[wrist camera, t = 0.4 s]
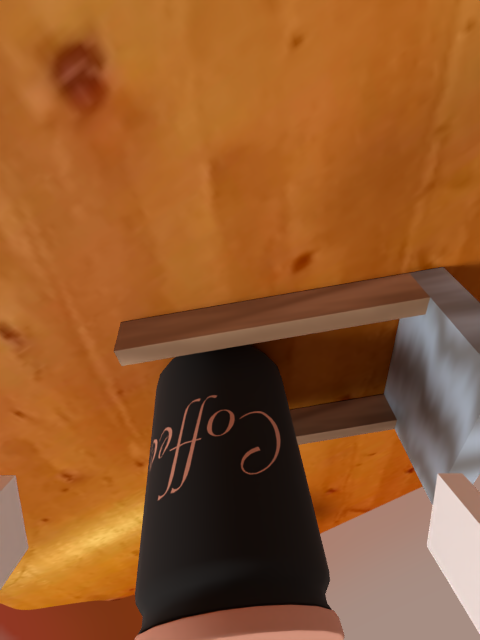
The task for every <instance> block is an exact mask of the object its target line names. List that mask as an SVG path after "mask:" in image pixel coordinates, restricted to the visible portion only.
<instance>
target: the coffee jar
mask: <svg viewBox="0 0 480 640" xmlns="http://www.w3.org/2000/svg"><path fill="white" fill-rule="evenodd" d="M329 582H330V577H329V569H328V565H327V561H326V557H325V553H324V549H323V545H322V541H321V537H320V532H319V528H318V524H317V520H316V516H315V512H314V508H313V504H312V500H311V496H310V492H309V488H308V484H307V479H306V475H305V471H304V467H303V463H302V459H301V455H300V451H299V447H298V443H297V439H296V435H295V431H294V426H293V422H292V418H291V414H290V410H289V406H288V402H287V398H286V394H285V390H284V386H283V382H282V378H281V375H280V373H279V370H278V367H277V366H276V365H275V363H274V362H273V361H272V360H270V359H269V358H268V357H267V356H266V355H265V354H264V353H263V352H261V351H259V350H258V349H256V348H254V347H252V346H250V345H242V346H236V347H230V348H224V349H219V350H213V351H207V352H201V353H195V354H189V355H183V356H177V357H175V358H174V359H172V361H171V362H170V363H169V364H168V365H167V367H166V368H165V369H164V370H163V371H162V373H161V374H160V378H159V381H158V385H157V390H156V399H155V409H154V419H153V428H152V438H151V447H150V457H149V466H148V476H147V486H146V495H145V505H144V514H143V524H142V534H141V543H140V553H139V562H138V572H137V581H136V591H135V600H136V605H137V607H138V609H139V611H140V613H141V614H142V616H143V621H142V628H141V630H140V632H139V634H138V635H137V636H136V638H135V639H134V640H343V639H344V632H343V629H342V626H341V623H340V620H339V617H338V616H337V614H336V613H335V612H334V611H333V610H332V609H331V608H330V607H329V605H328V604H327V601H326V597H325V593H326V590H327V587H328V585H329Z"/></svg>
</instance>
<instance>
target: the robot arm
mask: <svg viewBox="0 0 480 640" xmlns="http://www.w3.org/2000/svg"><path fill="white" fill-rule="evenodd" d="M427 547H428V549H429V551H430V552H431V554H432V556H433V557H434V559H435V560H436V562H437V564H438V566H439V567H440V569H441V571H442V572H443V574H444V575H445V577H446V578H447V580H448V582H449V584H450V585H451V587H452V589H453V590H454V592H455V594H456V595H457V597H458V599H459V600H460V602H461V604H462V605H463V607H464V609H465V610H466V612H467V614H468V615H469V617H470V619H471V620H472V622H473V624H474V625H475V627H476V628H477V630H478V632H479V634H480V492H479V491H478V490H477V489H476V488H475V487H474V485H473V484H472V483H471V482H470V481H469V480H468V479H467V478H466V477H465V476H464V475H463V474H462V473H438V474H437V481H436V488H435V494H434V501H433V508H432V514H431V521H430V528H429V534H428V541H427ZM27 549H28V543H27V537H26V532H25V526H24V521H23V515H22V510H21V504H20V498H19V493H18V487H17V482H16V476H15V475H0V590H1V588H2V587H3V585H4V584H5V582H6V581H7V579H8V578H9V576H10V575H11V573H12V572H13V570H14V569H15V567H16V566H17V564H18V563H19V561H20V560H21V558H22V557H23V555H24V554H25V552H26V551H27Z"/></svg>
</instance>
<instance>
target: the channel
mask: <svg viewBox="0 0 480 640" xmlns="http://www.w3.org/2000/svg"><path fill="white" fill-rule="evenodd" d="M395 319H400V320H399V324H398V329H397V334H396V339H395V344H394V348H393V353H392V358H391V363H390V367H389V372H388V377H387V382H386V387H385V391H384V394H382V395H376V396H370V397H364V398H358V399H352V400H346V401H340V402H334V403H328V404H322V405H316V406H310V407H304V408H298V409H292V410H290V414H291V418H292V422H293V426H294V431H295V435H296V439H297V443H298V445H300V444H306V443H312V442H318V441H324V440H330V439H336V438H342V437H348V436H354V435H360V434H366V433H372V432H378V431H384V430H391V429H395V430H396V433H397V435H398V437H399V439H400V441H401V443H402V445H403V447H404V449H405V451H406V453H407V455H408V457H409V459H410V461H411V463H412V465H413V467H414V469H415V471H416V473H417V475H418V477H419V479H420V481H421V483H422V485H423V487H424V489H425V491H426V493H427V495H428V497H429V499H430V501H431V503H432V505H433V501H434V494H435V488H436V481H437V474H438V473H462V474H463V475H464V476H465V477H466V478H467V479H468V480H469V481H470V482H471V483H472V484H473V483H474V482H475V480H476V479H477V477H478V476H479V474H480V303H479V302H478V301H477V300H476V299H475V298H474V297H473V296H472V295H471V294H470V293H469V292H468V291H467V290H466V289H465V288H464V287H463V286H462V285H461V284H460V283H459V282H458V281H457V280H456V279H455V278H454V277H453V276H452V275H451V274H450V273H449V272H448V271H447V270H446V269H445V268H444V267H441V268H435V269H429V270H424V271H418V272H412V273H406V274H400V275H394V276H389V277H383V278H377V279H371V280H365V281H360V282H354V283H348V284H342V285H336V286H330V287H325V288H319V289H313V290H307V291H301V292H295V293H290V294H284V295H278V296H272V297H266V298H260V299H255V300H249V301H243V302H237V303H231V304H226V305H220V306H214V307H208V308H202V309H196V310H191V311H185V312H179V313H173V314H167V315H161V316H156V317H150V318H144V319H138V320H132V321H126V322H121V324H120V328H119V332H118V336H117V340H116V344H115V348H114V353H115V354H116V356H117V358H118V360H119V362H120V364H121V366H124V365H130V364H136V363H142V362H148V361H154V360H160V359H166V358H171V357H177V356H183V355H189V354H195V353H201V352H207V351H213V350H219V349H224V348H230V347H236V346H242V345H248V344H254V343H260V342H266V341H272V340H277V339H283V338H289V337H295V336H301V335H307V334H313V333H319V332H325V331H330V330H336V329H342V328H348V327H354V326H360V325H366V324H372V323H378V322H383V321H389V320H395Z"/></svg>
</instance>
